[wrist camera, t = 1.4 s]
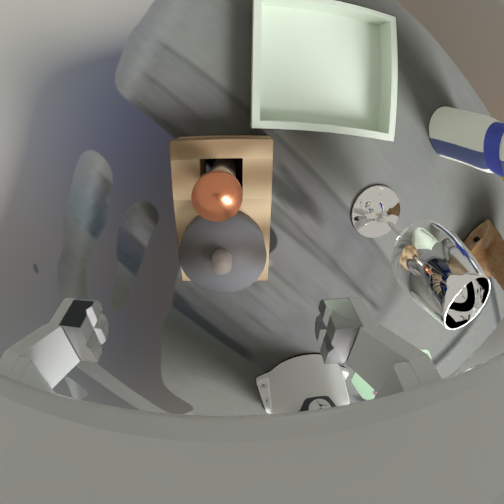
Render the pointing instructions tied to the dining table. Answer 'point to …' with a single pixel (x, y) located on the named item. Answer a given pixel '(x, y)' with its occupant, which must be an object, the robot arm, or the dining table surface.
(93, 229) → the dining table surface
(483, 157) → the water bottle
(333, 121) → the tray
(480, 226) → the brown l-shaped piece
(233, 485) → the robot arm
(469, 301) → the wineglass
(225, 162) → the lock pin
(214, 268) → the block
